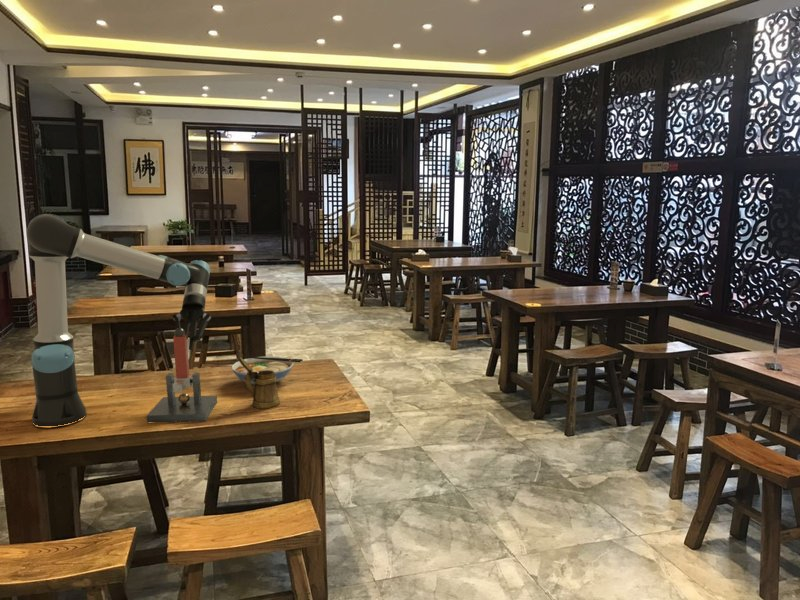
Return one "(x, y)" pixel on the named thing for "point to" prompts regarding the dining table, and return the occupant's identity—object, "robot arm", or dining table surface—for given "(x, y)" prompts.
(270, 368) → the ramen bowl
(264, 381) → the wooden mug
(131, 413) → the dining table surface
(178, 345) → the lever
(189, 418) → the stand
